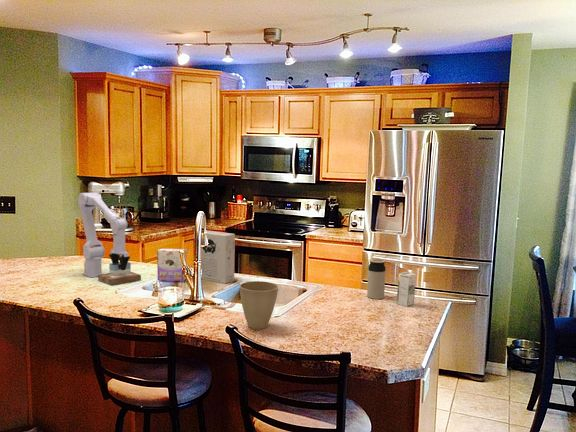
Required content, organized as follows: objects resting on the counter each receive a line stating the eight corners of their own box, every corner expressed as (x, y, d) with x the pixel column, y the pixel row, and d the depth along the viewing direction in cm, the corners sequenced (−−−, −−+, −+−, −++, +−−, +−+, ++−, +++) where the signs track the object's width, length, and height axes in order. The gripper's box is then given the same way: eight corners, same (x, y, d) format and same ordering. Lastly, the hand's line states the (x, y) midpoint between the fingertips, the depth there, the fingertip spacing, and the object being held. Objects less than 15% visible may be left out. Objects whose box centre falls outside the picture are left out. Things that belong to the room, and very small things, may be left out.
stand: (98, 280, 260) (98, 274, 259) (126, 275, 271) (126, 270, 271) (112, 285, 250) (111, 279, 250) (140, 280, 262) (140, 274, 262)
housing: (125, 272, 266) (125, 261, 265) (130, 274, 262) (130, 262, 262) (109, 275, 259) (109, 263, 258) (114, 276, 256) (114, 265, 255)
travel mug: (387, 297, 243) (389, 260, 241) (378, 300, 237) (379, 262, 235) (373, 294, 248) (374, 257, 246) (363, 297, 242) (365, 259, 240)
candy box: (186, 279, 266) (186, 248, 265) (183, 282, 261) (183, 250, 259) (160, 278, 268) (160, 247, 266) (157, 281, 262) (156, 249, 260)
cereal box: (234, 281, 267) (235, 233, 264) (225, 283, 260) (225, 235, 258) (203, 275, 278) (203, 229, 275) (193, 277, 272) (193, 231, 269)
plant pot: (246, 334, 187) (246, 292, 185) (233, 322, 200) (234, 282, 199) (283, 330, 193) (284, 289, 191) (269, 318, 206) (270, 279, 205)
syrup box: (403, 301, 236) (405, 271, 234) (414, 304, 232) (416, 273, 230) (396, 304, 232) (398, 272, 230) (407, 307, 228) (409, 275, 226)
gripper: (104, 241, 261) (105, 267, 262) (119, 245, 251) (119, 272, 252) (117, 240, 266) (117, 265, 267) (132, 243, 256) (132, 270, 258)
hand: (119, 268), depth 260 cm, fingers open, 7 cm apart
